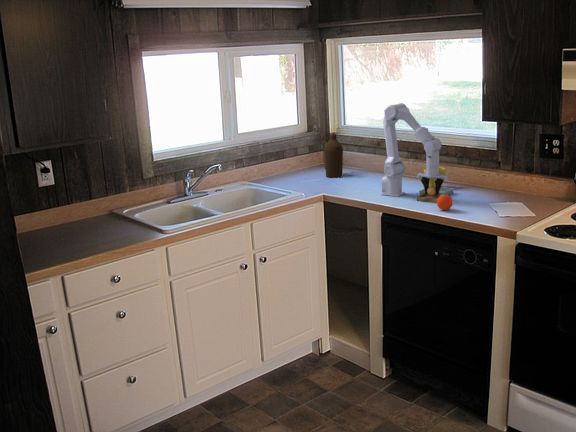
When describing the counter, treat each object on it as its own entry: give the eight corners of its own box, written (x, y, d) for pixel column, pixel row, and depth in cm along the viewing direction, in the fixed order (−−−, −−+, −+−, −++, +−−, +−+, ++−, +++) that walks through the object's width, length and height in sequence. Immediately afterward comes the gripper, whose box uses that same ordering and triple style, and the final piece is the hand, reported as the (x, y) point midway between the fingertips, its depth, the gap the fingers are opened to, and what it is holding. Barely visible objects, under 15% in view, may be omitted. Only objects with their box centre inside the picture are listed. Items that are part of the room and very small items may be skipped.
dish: (419, 195, 305) (419, 190, 304) (430, 190, 314) (430, 185, 313) (442, 198, 298) (443, 193, 297) (453, 193, 307) (453, 188, 306)
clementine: (431, 210, 278) (431, 194, 276) (438, 207, 283) (439, 191, 281) (448, 212, 273) (448, 197, 271) (455, 209, 278) (455, 193, 276)
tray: (417, 200, 295) (417, 196, 295) (425, 196, 302) (425, 192, 301) (438, 203, 289) (439, 199, 288) (447, 199, 295) (447, 195, 295)
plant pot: (436, 190, 313) (436, 171, 310) (419, 188, 320) (419, 169, 318) (448, 187, 319) (449, 168, 317) (432, 184, 327) (432, 166, 324)
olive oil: (347, 175, 359) (346, 131, 352) (336, 178, 351) (335, 134, 344) (331, 173, 365) (330, 130, 359) (321, 177, 357) (319, 133, 351)
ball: (425, 196, 294) (425, 186, 293) (429, 193, 298) (429, 184, 297) (434, 197, 292) (434, 187, 290) (438, 194, 295) (439, 185, 294)
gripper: (414, 165, 292) (414, 194, 296) (443, 168, 284) (443, 197, 287) (421, 163, 297) (420, 190, 301) (450, 165, 289) (449, 194, 292)
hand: (432, 193), depth 294 cm, fingers closed on ball, 4 cm apart
